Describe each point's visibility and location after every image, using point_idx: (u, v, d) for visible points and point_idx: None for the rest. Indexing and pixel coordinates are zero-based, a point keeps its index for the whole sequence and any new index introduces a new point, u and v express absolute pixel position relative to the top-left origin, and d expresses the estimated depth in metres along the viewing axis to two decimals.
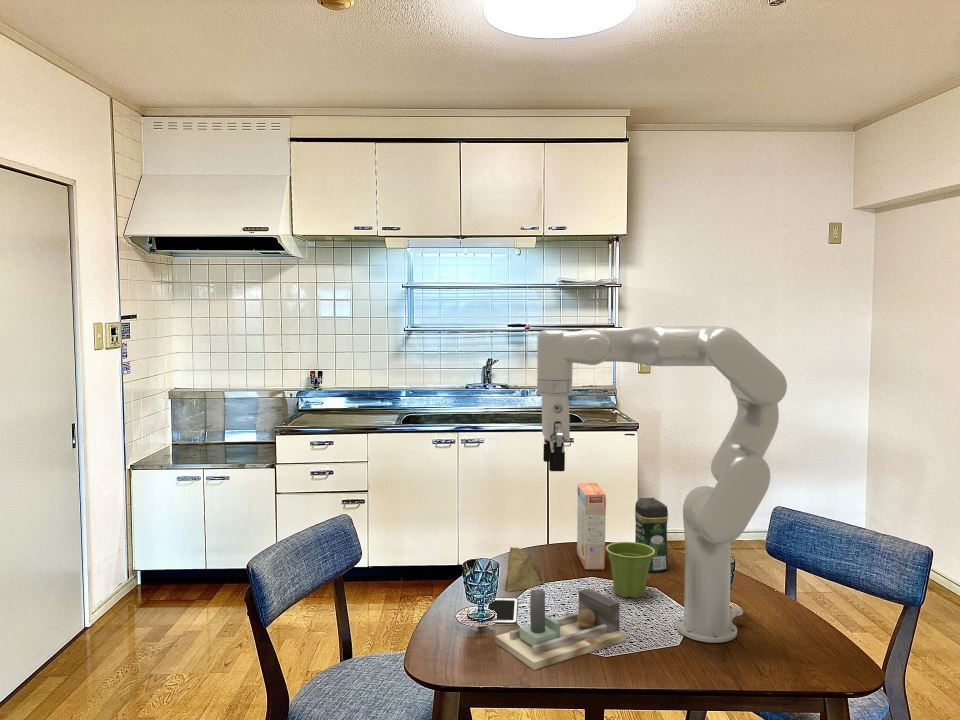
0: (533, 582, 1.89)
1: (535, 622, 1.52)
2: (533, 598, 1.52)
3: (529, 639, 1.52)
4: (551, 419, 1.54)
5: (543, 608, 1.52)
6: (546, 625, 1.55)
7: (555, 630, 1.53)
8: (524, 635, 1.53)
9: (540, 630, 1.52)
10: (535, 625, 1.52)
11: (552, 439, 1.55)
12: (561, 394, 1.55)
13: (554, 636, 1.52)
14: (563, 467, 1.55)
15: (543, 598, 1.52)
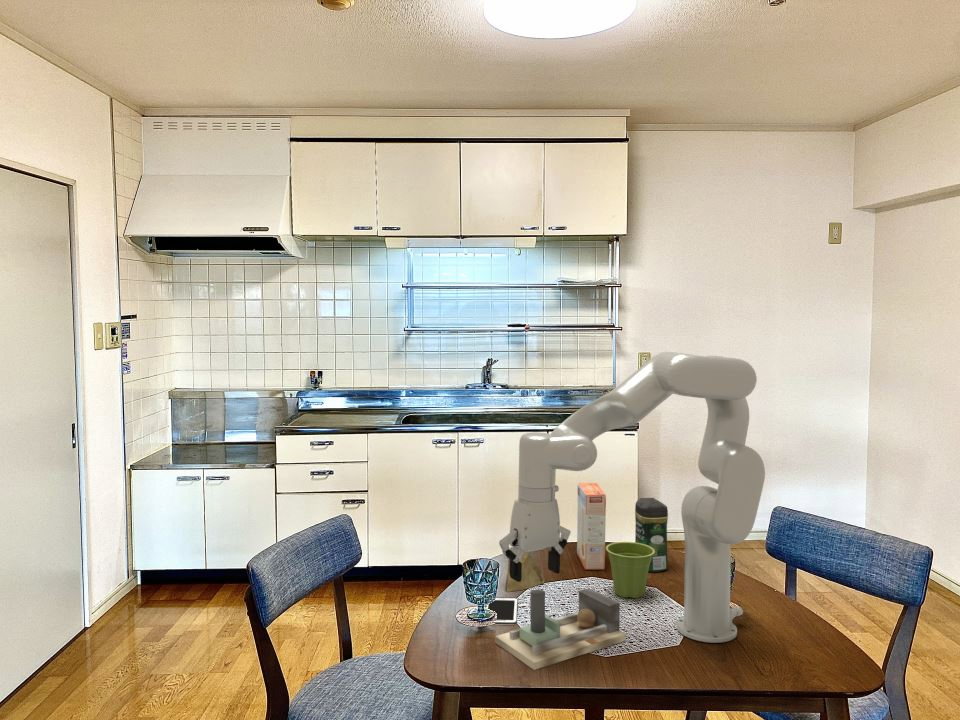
0: (533, 582, 1.89)
1: (535, 622, 1.52)
2: (533, 598, 1.52)
3: (529, 639, 1.52)
4: None
5: (543, 608, 1.52)
6: (546, 625, 1.55)
7: (555, 630, 1.53)
8: (524, 635, 1.53)
9: (540, 630, 1.52)
10: (535, 625, 1.52)
11: None
12: None
13: (554, 636, 1.52)
14: None
15: (543, 598, 1.52)
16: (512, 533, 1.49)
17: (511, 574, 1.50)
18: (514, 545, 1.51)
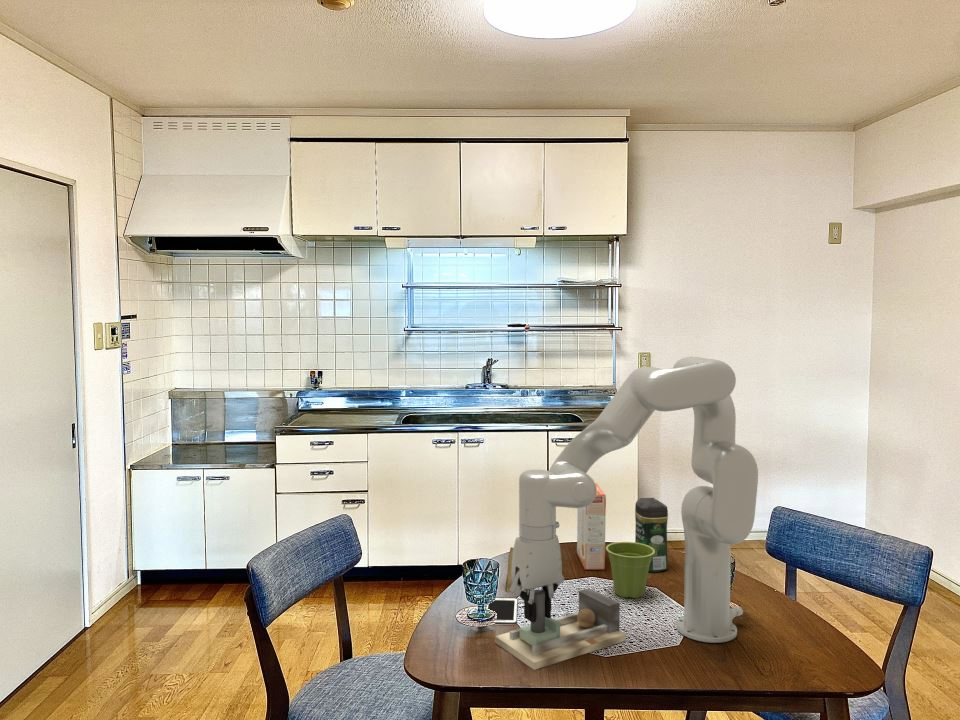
0: None
1: (535, 622, 1.52)
2: None
3: (529, 639, 1.52)
4: None
5: (543, 608, 1.52)
6: (546, 625, 1.55)
7: (555, 630, 1.53)
8: (524, 635, 1.53)
9: (540, 630, 1.52)
10: (535, 625, 1.52)
11: None
12: None
13: (554, 636, 1.52)
14: None
15: (543, 598, 1.52)
16: (517, 577, 1.50)
17: (526, 615, 1.52)
18: None
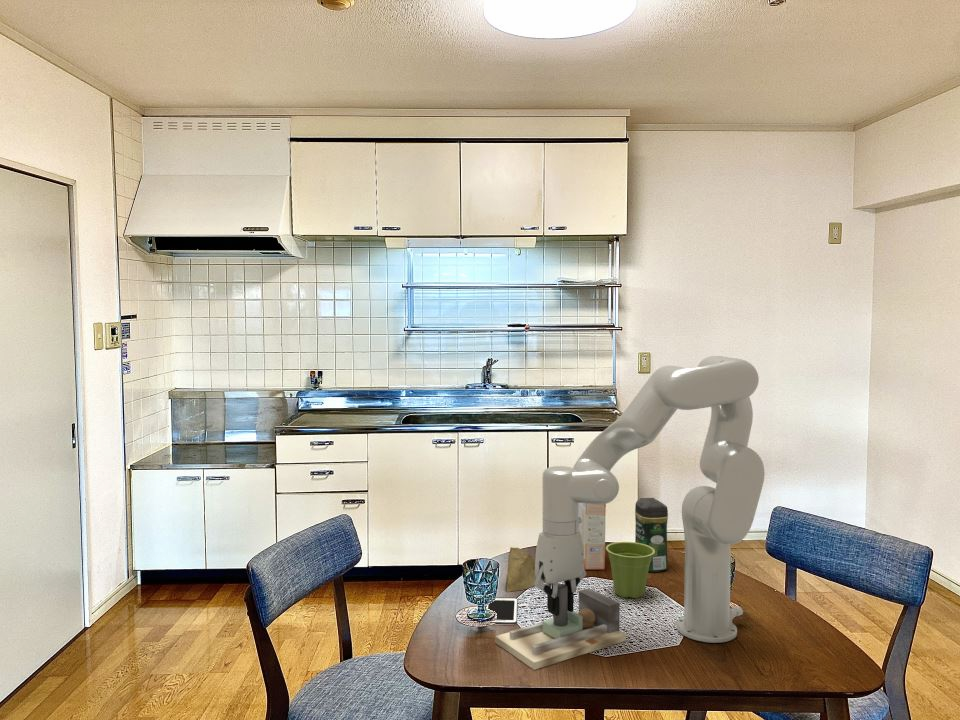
0: (533, 582, 1.89)
1: None
2: None
3: (552, 632, 1.55)
4: None
5: (566, 602, 1.55)
6: (568, 619, 1.58)
7: (578, 623, 1.56)
8: (547, 628, 1.56)
9: (563, 623, 1.55)
10: (558, 619, 1.55)
11: None
12: None
13: (577, 629, 1.55)
14: None
15: (566, 592, 1.55)
16: (541, 571, 1.53)
17: (549, 609, 1.55)
18: None
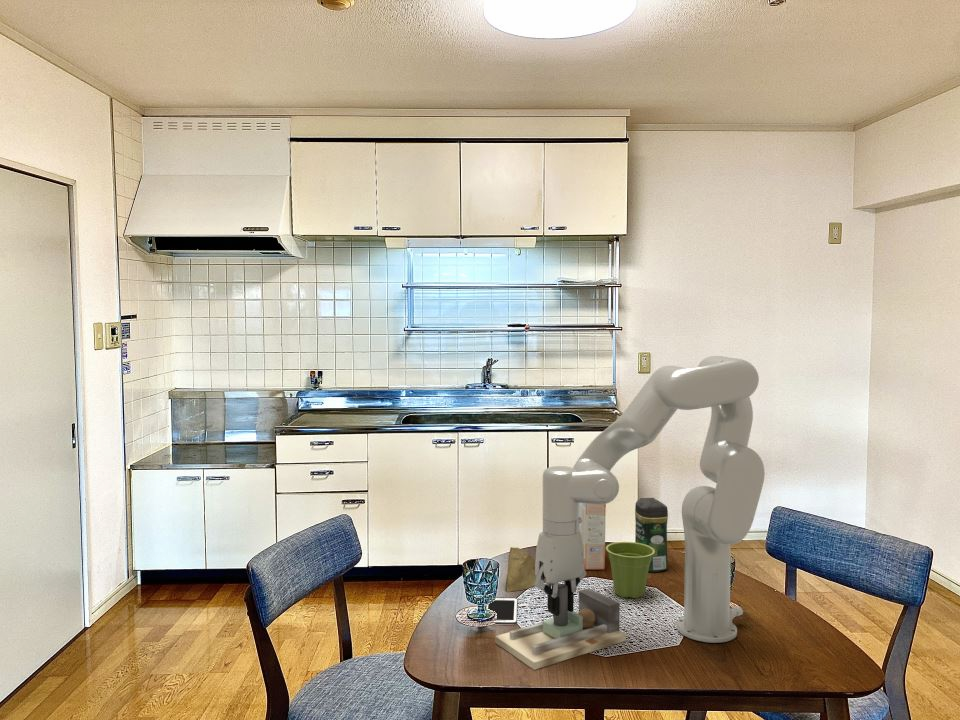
0: (533, 582, 1.89)
1: None
2: None
3: (552, 632, 1.55)
4: None
5: (566, 602, 1.55)
6: (568, 619, 1.58)
7: (578, 623, 1.56)
8: (547, 628, 1.56)
9: (563, 623, 1.55)
10: (558, 619, 1.55)
11: None
12: None
13: (577, 629, 1.55)
14: None
15: (566, 592, 1.55)
16: (541, 571, 1.53)
17: (549, 608, 1.55)
18: None
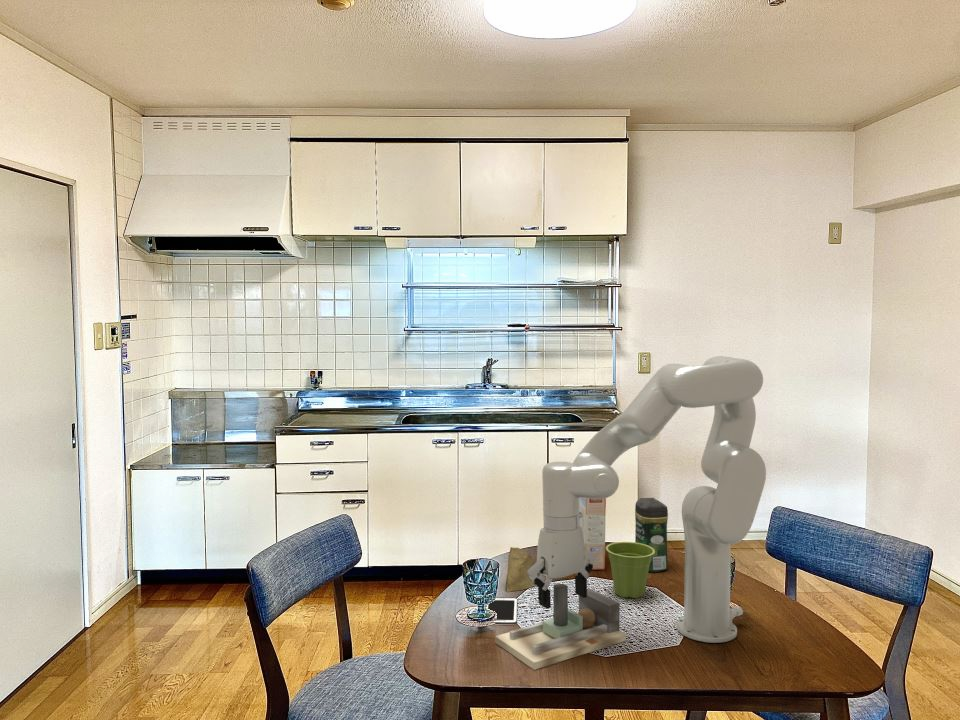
0: None
1: (558, 615, 1.55)
2: (556, 592, 1.55)
3: (552, 632, 1.55)
4: None
5: (566, 602, 1.55)
6: (568, 619, 1.58)
7: (578, 623, 1.56)
8: (547, 628, 1.56)
9: (563, 623, 1.55)
10: (558, 619, 1.55)
11: None
12: None
13: (577, 629, 1.55)
14: None
15: (566, 592, 1.55)
16: (539, 562, 1.53)
17: (540, 601, 1.53)
18: (542, 573, 1.54)
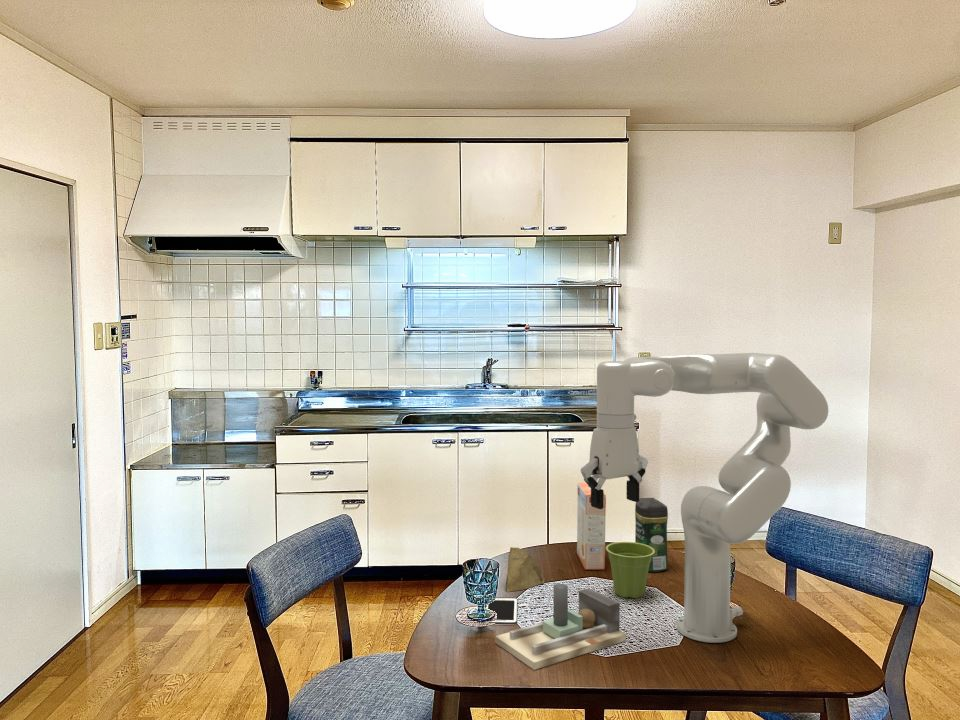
0: (533, 582, 1.89)
1: (558, 615, 1.55)
2: (556, 592, 1.55)
3: (552, 632, 1.55)
4: None
5: (566, 602, 1.55)
6: (568, 619, 1.58)
7: (578, 623, 1.56)
8: (547, 628, 1.56)
9: (563, 623, 1.55)
10: (558, 619, 1.55)
11: None
12: None
13: (577, 629, 1.55)
14: None
15: (566, 592, 1.55)
16: (593, 461, 1.48)
17: (593, 502, 1.49)
18: (594, 473, 1.50)
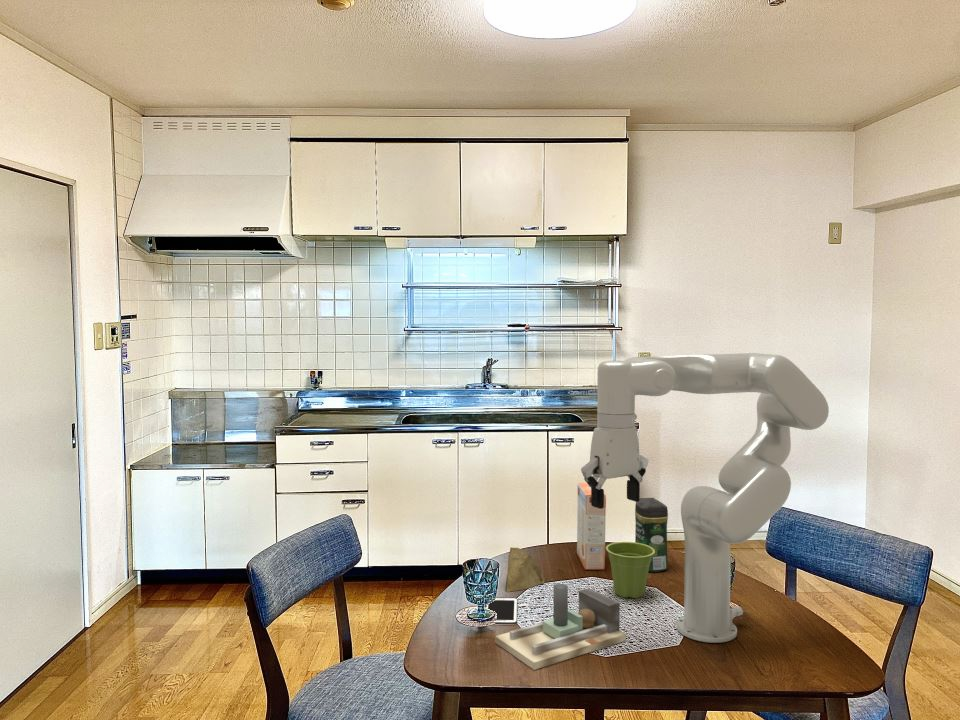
0: (533, 582, 1.89)
1: (558, 615, 1.55)
2: (556, 592, 1.55)
3: (552, 632, 1.55)
4: None
5: (566, 602, 1.55)
6: (568, 619, 1.58)
7: (578, 623, 1.56)
8: (547, 628, 1.56)
9: (563, 623, 1.55)
10: (558, 619, 1.55)
11: None
12: None
13: (577, 629, 1.55)
14: None
15: (566, 592, 1.55)
16: (594, 460, 1.48)
17: (593, 501, 1.49)
18: (595, 473, 1.50)
